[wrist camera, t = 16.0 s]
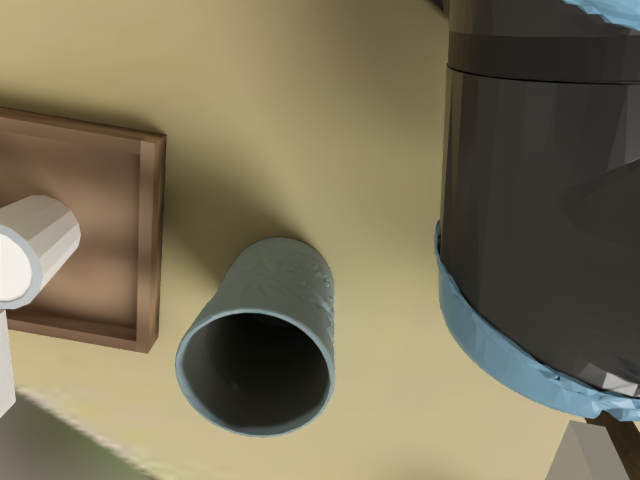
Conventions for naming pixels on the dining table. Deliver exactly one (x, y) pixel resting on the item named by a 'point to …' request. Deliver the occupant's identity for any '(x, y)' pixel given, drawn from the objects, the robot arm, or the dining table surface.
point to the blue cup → (263, 342)
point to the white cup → (33, 246)
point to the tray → (92, 225)
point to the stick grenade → (622, 441)
